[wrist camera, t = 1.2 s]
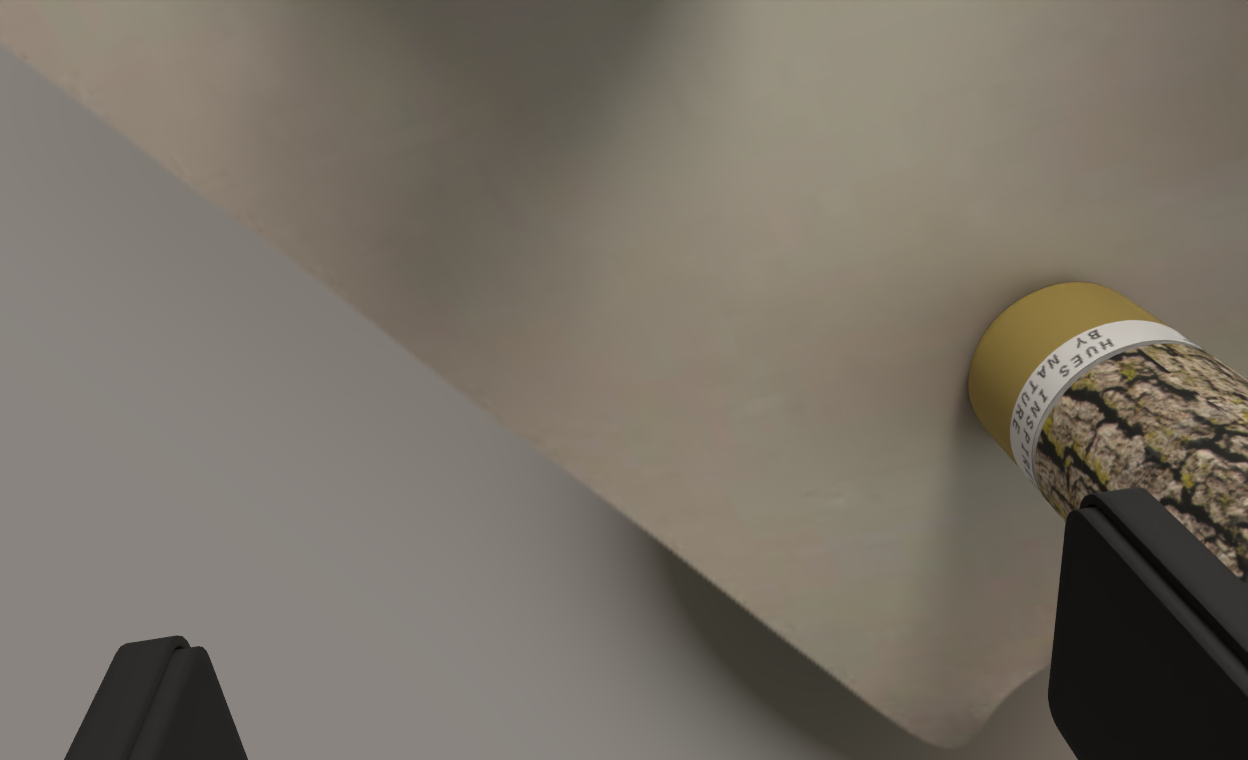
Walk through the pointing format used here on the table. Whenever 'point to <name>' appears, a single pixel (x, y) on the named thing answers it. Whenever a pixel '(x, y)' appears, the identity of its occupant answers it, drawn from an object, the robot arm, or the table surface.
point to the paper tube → (1117, 410)
